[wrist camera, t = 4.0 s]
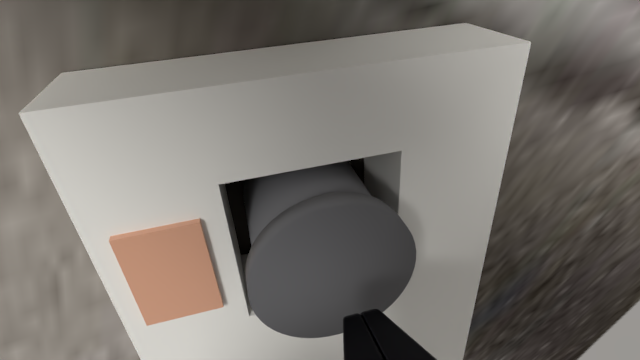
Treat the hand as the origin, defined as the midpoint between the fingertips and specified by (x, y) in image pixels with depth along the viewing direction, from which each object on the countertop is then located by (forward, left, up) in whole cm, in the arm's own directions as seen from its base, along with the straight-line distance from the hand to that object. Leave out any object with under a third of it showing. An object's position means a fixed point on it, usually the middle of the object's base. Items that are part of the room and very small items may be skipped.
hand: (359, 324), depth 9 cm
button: (0, 0, -6) cm, 6 cm away
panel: (-6, 0, -6) cm, 9 cm away
